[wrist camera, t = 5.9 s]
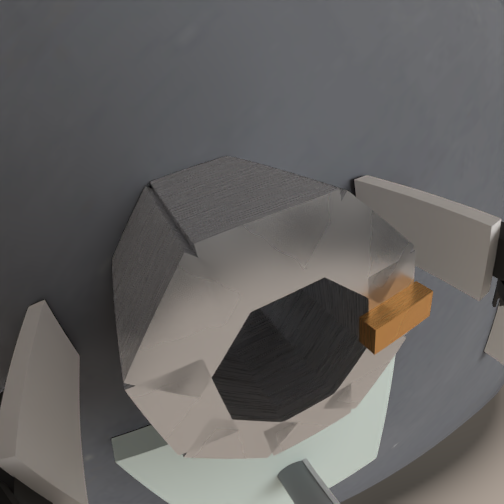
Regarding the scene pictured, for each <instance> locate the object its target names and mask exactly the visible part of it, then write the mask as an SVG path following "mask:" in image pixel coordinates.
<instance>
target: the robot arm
mask: <svg viewBox="0 0 504 504" xmlns="http://www.w3.org/2000/svg"><path fill="white" fill-rule="evenodd" d="M354 183H355V192H356V197H357V198H358V199H359V200H360V201H362V202H363V203H364V204H365V205H367V206H368V207H369V208H370V209H372V210H373V211H374V212H375V213H376V214H378V215H379V216H380V217H381V218H382V219H384V220H385V221H386V222H387V223H388V224H390V225H391V226H392V227H393V228H394V229H396V230H397V231H398V232H399V233H400V234H401V235H403V236H404V237H405V238H406V239H407V240H408V241H409V242H411V243H412V244H413V245H414V246H413V248H412V249H413V250H415V266H417V267H419V268H421V269H422V270H424V271H426V272H428V273H430V274H432V275H433V276H435V277H437V278H439V279H441V280H443V281H444V282H446V283H448V284H450V285H452V286H453V287H455V288H457V289H459V290H460V291H462V292H464V293H466V294H467V295H469V296H471V297H473V298H474V299H476V300H478V301H480V300H481V299H482V298H483V297H484V296H485V295H486V294H487V293H488V292H489V290H490V285H491V281H492V276H494V277H496V278H498V281H497V286H496V290H495V294H494V298H493V302H492V304H493V307H496V303H497V299H498V298H500V297H501V299H500V303H499V306H504V222H502V221H501V218H498V217H496V216H493V215H490V214H488V213H485V212H482V211H480V210H477V209H474V208H471V207H469V206H466V205H463V204H460V203H457V202H454V201H451V200H448V199H445V198H442V197H439V196H436V195H433V194H430V193H427V192H424V191H420V190H417V189H414V188H411V187H407V186H404V185H401V184H397V183H394V182H390V181H387V180H383V179H379V178H376V177H372V176H368V175H366V176H363V177H360V178H357V179H354ZM79 372H80V356H79V354H78V353H77V351H76V350H75V348H74V347H73V345H72V344H71V342H70V341H69V339H68V337H67V336H66V334H65V333H64V331H63V330H62V328H61V326H60V325H59V323H58V321H57V320H56V318H55V317H54V315H53V313H52V311H51V310H50V308H49V306H48V305H47V303H46V301H45V300H42V301H40V302H38V303H36V304H33V305H31V306H29V307H28V309H27V312H26V315H25V318H24V321H23V324H22V327H21V330H20V333H19V336H18V340H17V343H16V346H15V350H14V353H13V357H12V360H11V364H10V368H9V372H8V376H7V380H6V384H5V388H4V392H2V393H1V394H0V504H88V497H87V491H86V483H85V475H84V466H83V456H82V444H81V428H80V399H79Z"/></svg>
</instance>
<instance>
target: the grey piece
mask: <svg viewBox="0 0 504 504" xmlns="http://www.w3.org/2000/svg"><path fill="white" fill-rule="evenodd" d="M150 184H151V187H152V188H150V187H148V186H145V187H144V189H143V191H142V193H141V195H140V197H139V200H138V202H137V204H136V206H135V208H134V210H133V212H132V214H131V216H130V219H129V221H128V223H127V225H126V227H125V230H124V232H123V234H122V236H121V239H120V241H119V243H118V246H117V248H116V250H115V253H114V255H113V258H112V273H113V291H114V305H115V317H116V328H117V338H118V347H119V355H120V362H121V370H122V377H123V383H124V390H125V391H126V393H127V394H128V395H129V397H130V398H131V399H132V401H133V402H134V403H135V404H136V406H137V407H138V408H139V410H140V411H141V412H142V413H143V415H144V416H145V417H146V418H147V420H148V421H149V422H150V423H151V424H152V426H153V427H154V428H155V429H156V430H157V432H158V433H159V434H160V435H161V436H162V438H163V439H164V440H165V441H166V442H167V443H168V444H169V446H170V447H171V448H172V449H173V450H174V451H175V452H176V453H177V454H178V455H181V454H183V457H185V458H208V459H250V458H268V457H269V456H270V455H271V454H273V456H275V455H277V454H279V453H281V452H283V451H285V450H287V449H289V448H291V447H293V446H294V445H296V444H298V443H300V442H302V441H304V440H306V439H307V438H309V437H311V436H313V435H315V434H316V433H318V432H320V431H321V430H323V429H325V428H327V427H328V426H330V425H332V424H333V423H335V422H337V421H338V420H340V419H341V418H343V417H345V416H346V415H348V414H349V413H351V409H355V408H356V407H357V406H358V405H359V403H360V402H361V401H362V399H363V398H364V397H365V396H366V394H367V393H368V392H369V390H370V389H371V388H372V386H373V385H374V384H375V382H376V381H377V380H378V378H379V377H380V375H381V374H382V373H383V371H384V370H385V368H386V367H387V366H388V364H389V363H390V361H391V360H392V358H393V357H394V356H395V354H396V353H397V351H398V350H399V348H400V347H401V345H402V344H403V342H404V340H405V339H406V337H405V336H404V335H405V334H407V333H408V332H409V331H410V330H411V329H412V328H414V327H415V326H416V325H418V324H419V323H420V322H422V321H423V320H424V319H426V318H427V317H428V316H430V309H431V302H432V295H433V291H432V290H430V289H429V288H427V287H425V286H423V285H422V284H420V283H418V282H417V281H416V282H414V271H415V250H413V249H412V248H413V246H414V245H413V244H412V243H411V242H409V241H408V240H407V239H406V238H405V237H404V236H403V235H401V234H400V233H399V232H398V231H397V230H396V229H394V228H393V227H392V226H391V225H390V224H388V223H387V222H386V221H385V220H384V219H382V218H381V217H380V216H379V215H378V214H376V213H375V212H374V211H373V210H372V209H370V208H369V207H368V206H367V205H365V204H364V203H363V202H362V201H360V200H359V199H358V198H357V197H355V196H354V195H353V194H351V193H350V192H349V191H348V190H345V189H342V188H339V187H336V186H333V185H329V184H326V183H323V182H320V181H317V180H314V179H310V178H307V177H304V176H301V175H297V174H294V173H290V172H287V171H284V170H280V169H277V168H273V167H270V166H266V165H262V164H259V163H255V162H251V161H248V160H244V159H240V158H236V157H232V156H231V157H229V156H224V157H221V158H218V159H214V160H211V161H208V162H205V163H202V164H199V165H196V166H193V167H190V168H187V169H184V170H181V171H178V172H175V173H172V174H169V175H167V176H164V177H161V178H158V179H155V180H153V181H150Z"/></svg>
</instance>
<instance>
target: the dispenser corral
mask: <svg viewBox="0 0 504 504" xmlns="http://www.w3.org/2000/svg"><path fill="white" fill-rule="evenodd" d="M500 299H501V298H500ZM499 303H500V302H499ZM484 352H486V353H487V354H489V355H490V356H491V357H493V358H494V359H496V360H497V361H499V362H500V363H501V364H503V365H504V306H498V309H497V313H496V316H495V320H494V323H493V326H492V329H491V332H490V335H489V338H488V341H487V344H486V347H485V350H484Z"/></svg>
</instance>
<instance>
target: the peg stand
mask: <svg viewBox="0 0 504 504" xmlns="http://www.w3.org/2000/svg"><path fill="white" fill-rule="evenodd" d="M394 361H395V356H394V357H393V358H392V360H391V361H390V363H389V364H388V366H387V367H386V368H385V370H384V371H383V373H382V374H381V375H380V377H379V378H378V380H377V381H376V382H375V384H374V385H373V386H372V388H371V389H370V390H369V392H368V393H367V394H366V396H365V397H364V398H363V399H362V401H361V402H360V403H359V405H358V406H357V407H356V408H355V409H351V413H349V414H348V415H346V416H345V417H343V418H341V419H340V420H338V421H337V422H335V423H333V424H332V425H330V426H328V427H327V428H325V429H323V430H321V431H320V432H318V433H316V434H315V435H313V436H311V437H309V438H307V439H306V440H304V441H302V442H300V443H298V444H296V445H294V446H293V447H291V448H289V449H287V450H285V451H283V452H281V453H279V454H277V455H275V456H273V454H271V455H270V456H269V457H268V458H250V459H208V458H185V457H183V454H181V455H178V454H177V453H176V452H175V451H174V450H173V449H172V448H171V447H170V446H169V444H168V443H167V442H166V441H165V440H164V439H163V438H162V436H161V435H160V434H159V433H158V432H157V430H156V429H155V428H154V427H153V426H152V425H150V426H147V427H144V428H141V429H138V430H136V431H133V432H130V433H127V434H124V435H121V436H118V437H115V438H111V440H112V446H113V452H114V458H115V462H116V463H117V464H118V465H119V466H121V467H122V468H123V469H124V470H125V471H127V472H128V473H129V474H130V475H131V476H133V477H134V478H135V479H137V480H138V481H139V482H140V483H142V484H143V485H144V486H146V487H147V488H148V489H150V490H151V491H152V492H154V493H155V494H156V495H158V496H159V497H161V498H162V499H163V500H165V501H166V502H168V503H169V504H340V503H339V502H338V500H337V499H336V498H335V496H334V495H333V494H332V492H331V491H330V490H329V488H330V487H332V486H334V485H335V484H337V483H339V482H340V481H342V480H343V479H345V478H347V477H348V476H350V475H351V474H353V473H355V472H356V471H358V470H359V469H361V468H362V467H364V466H365V465H367V464H368V463H370V462H371V461H373V460H374V459H375V458H376V457H377V453H378V449H379V445H380V440H381V436H382V431H383V426H384V421H385V416H386V411H387V406H388V400H389V394H390V388H391V382H392V376H393V369H394Z"/></svg>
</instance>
